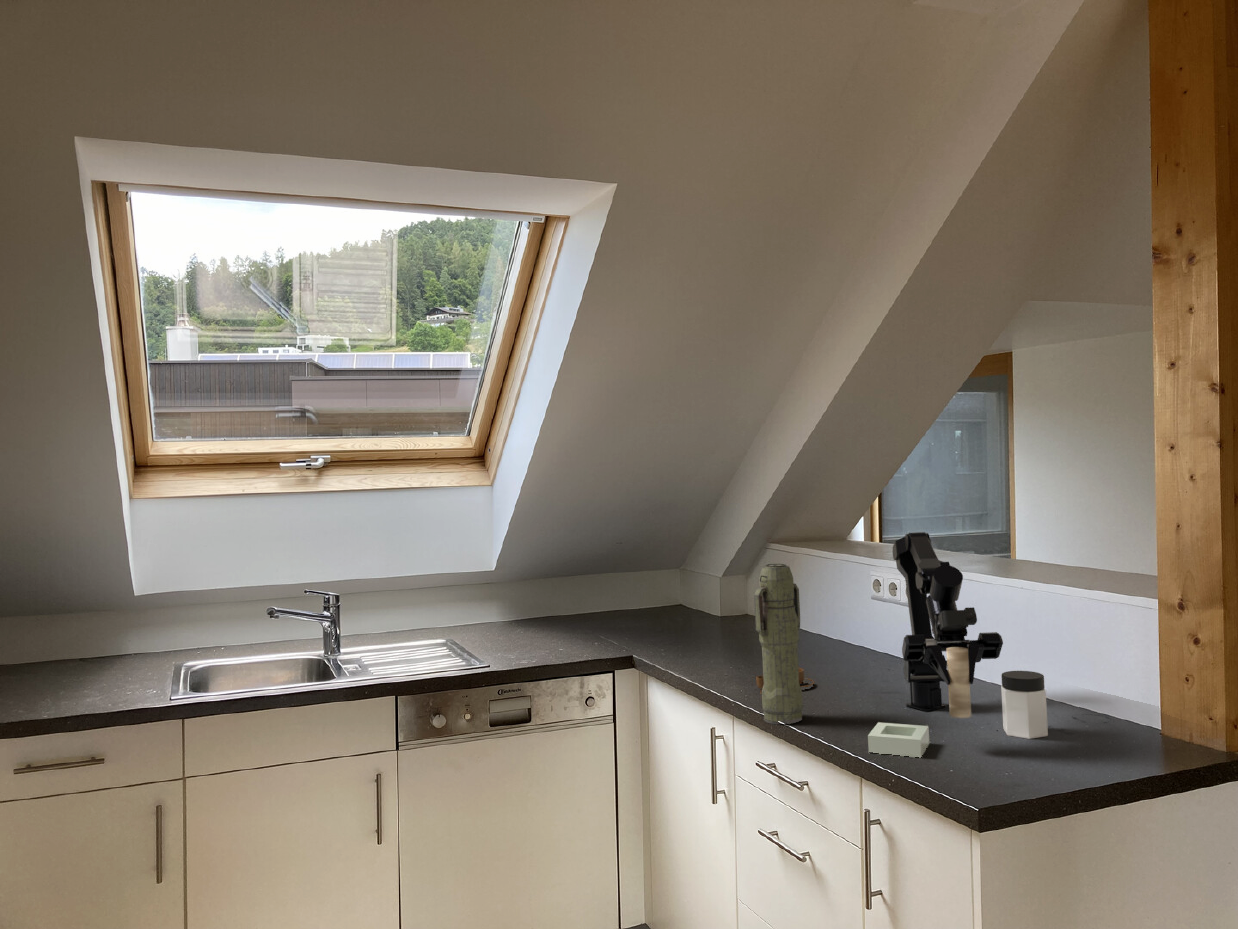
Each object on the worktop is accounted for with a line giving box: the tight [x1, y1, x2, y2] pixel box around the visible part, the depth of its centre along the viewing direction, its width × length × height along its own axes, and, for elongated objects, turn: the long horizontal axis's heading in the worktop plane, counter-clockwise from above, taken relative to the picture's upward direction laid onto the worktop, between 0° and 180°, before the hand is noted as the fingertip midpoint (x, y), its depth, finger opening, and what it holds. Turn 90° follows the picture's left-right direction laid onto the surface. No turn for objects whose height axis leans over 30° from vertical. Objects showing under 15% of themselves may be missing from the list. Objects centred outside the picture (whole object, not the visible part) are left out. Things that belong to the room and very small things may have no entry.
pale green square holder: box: [867, 721, 930, 759], centre depth 190 cm, size 10×10×4 cm
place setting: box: [755, 667, 815, 695], centre depth 245 cm, size 18×20×6 cm
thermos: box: [753, 563, 804, 726], centre depth 216 cm, size 9×12×35 cm
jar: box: [1000, 670, 1049, 740], centre depth 197 cm, size 9×8×12 cm
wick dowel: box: [946, 647, 972, 719], centre depth 187 cm, size 4×4×13 cm
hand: (960, 683), depth 186 cm, fingers closed on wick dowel, 4 cm apart
